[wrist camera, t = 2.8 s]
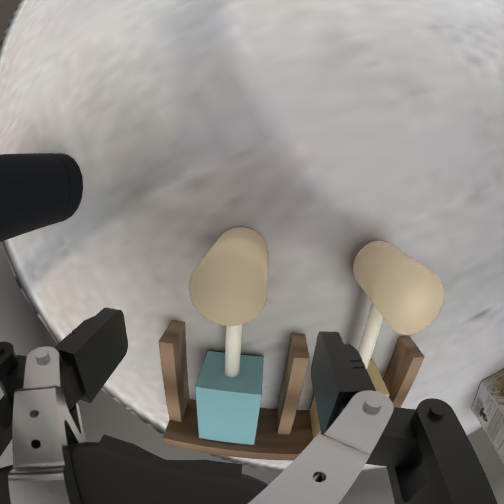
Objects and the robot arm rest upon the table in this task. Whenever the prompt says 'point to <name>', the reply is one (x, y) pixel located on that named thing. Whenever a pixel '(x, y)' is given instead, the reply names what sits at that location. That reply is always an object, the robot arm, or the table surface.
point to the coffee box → (492, 410)
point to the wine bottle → (37, 191)
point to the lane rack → (269, 420)
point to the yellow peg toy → (391, 302)
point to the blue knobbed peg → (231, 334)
